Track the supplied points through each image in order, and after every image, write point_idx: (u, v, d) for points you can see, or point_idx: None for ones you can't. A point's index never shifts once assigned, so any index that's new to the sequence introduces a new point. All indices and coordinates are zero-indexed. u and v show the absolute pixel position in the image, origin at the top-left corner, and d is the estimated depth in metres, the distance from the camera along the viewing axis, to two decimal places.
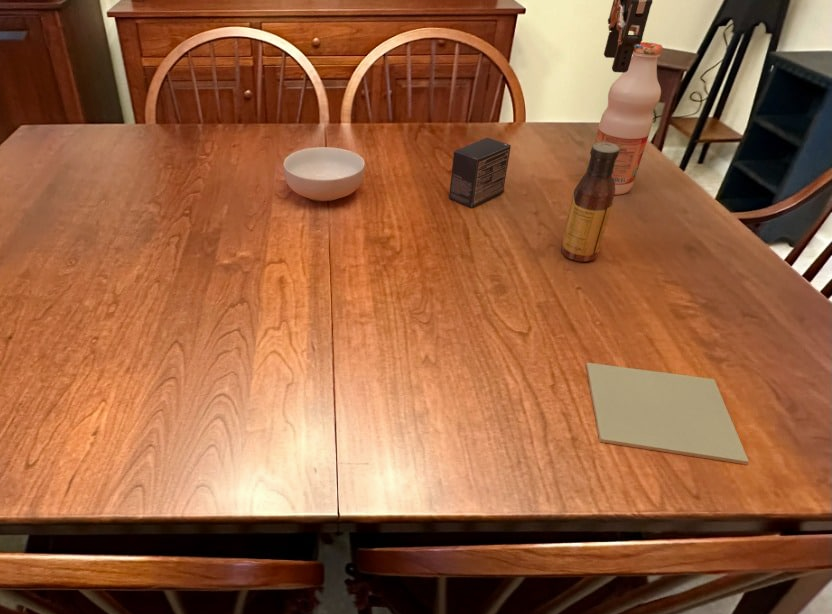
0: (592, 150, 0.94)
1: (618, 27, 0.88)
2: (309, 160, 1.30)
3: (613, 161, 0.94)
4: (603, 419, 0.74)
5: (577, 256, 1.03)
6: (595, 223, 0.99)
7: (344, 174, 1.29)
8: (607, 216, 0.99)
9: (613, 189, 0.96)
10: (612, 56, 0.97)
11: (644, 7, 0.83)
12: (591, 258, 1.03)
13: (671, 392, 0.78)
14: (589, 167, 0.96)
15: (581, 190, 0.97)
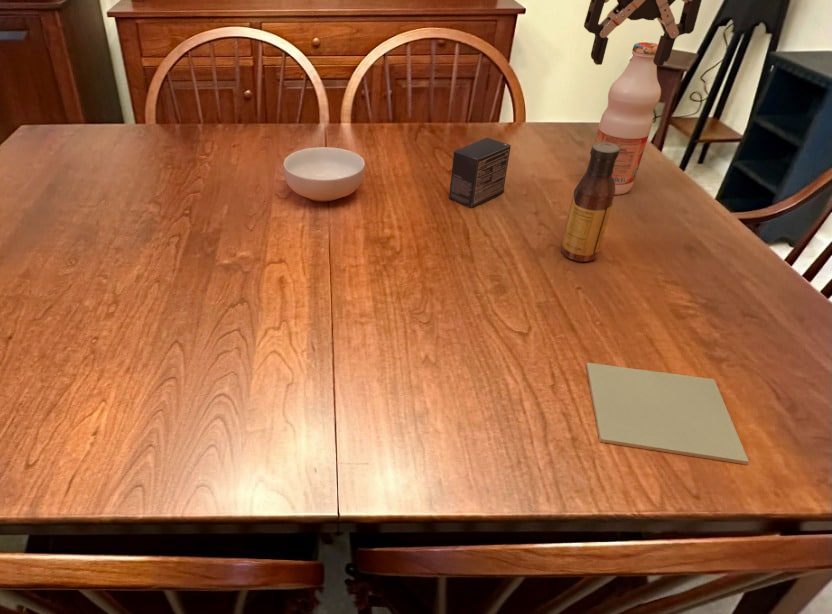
0: (592, 150, 0.94)
1: None
2: (309, 160, 1.30)
3: (613, 161, 0.94)
4: (603, 419, 0.74)
5: (577, 256, 1.03)
6: (595, 223, 0.99)
7: (344, 174, 1.29)
8: (607, 216, 0.99)
9: (613, 189, 0.96)
10: (656, 63, 0.88)
11: None
12: (591, 258, 1.03)
13: (671, 392, 0.78)
14: (589, 167, 0.96)
15: (581, 190, 0.97)
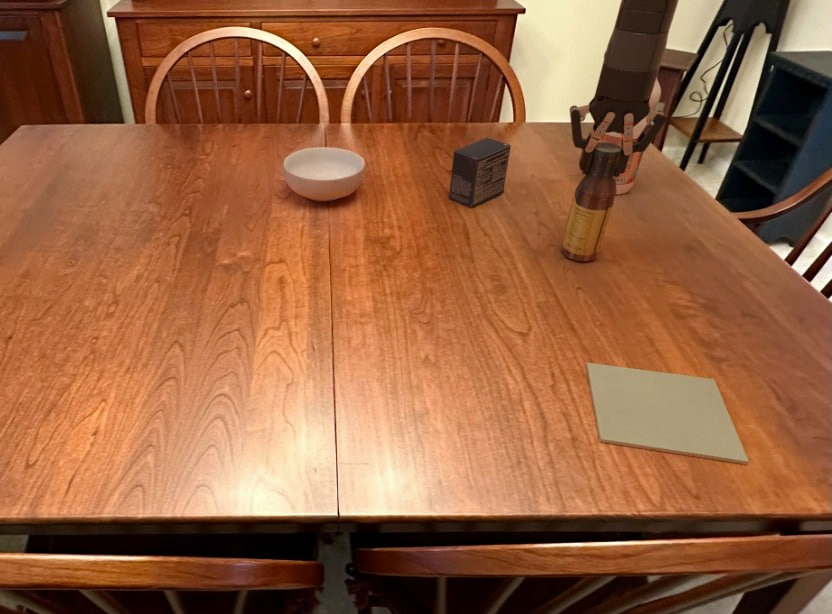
0: (594, 150, 0.94)
1: None
2: (309, 160, 1.30)
3: (615, 161, 0.94)
4: (603, 419, 0.74)
5: (577, 256, 1.03)
6: (596, 223, 0.99)
7: (344, 174, 1.29)
8: (608, 216, 0.99)
9: (614, 189, 0.96)
10: (613, 174, 0.96)
11: None
12: (591, 258, 1.03)
13: (671, 392, 0.78)
14: (591, 167, 0.96)
15: (582, 190, 0.97)
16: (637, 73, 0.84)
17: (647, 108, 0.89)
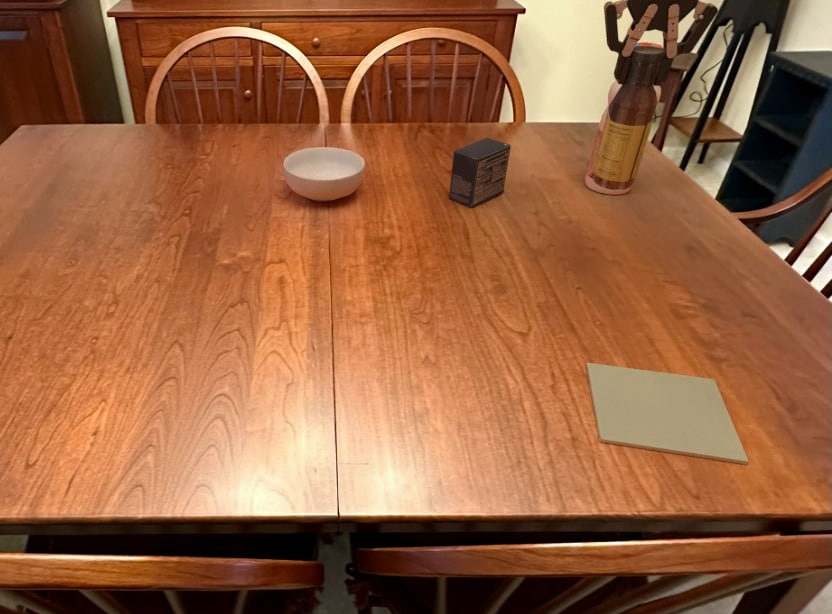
0: (632, 53, 0.82)
1: None
2: (309, 160, 1.30)
3: (656, 65, 0.82)
4: (603, 419, 0.74)
5: (611, 183, 0.92)
6: (633, 142, 0.87)
7: (344, 174, 1.29)
8: (647, 134, 0.87)
9: (655, 100, 0.84)
10: (654, 83, 0.84)
11: (605, 14, 0.81)
12: (627, 185, 0.92)
13: (671, 392, 0.78)
14: (628, 75, 0.84)
15: (617, 103, 0.85)
16: None
17: None
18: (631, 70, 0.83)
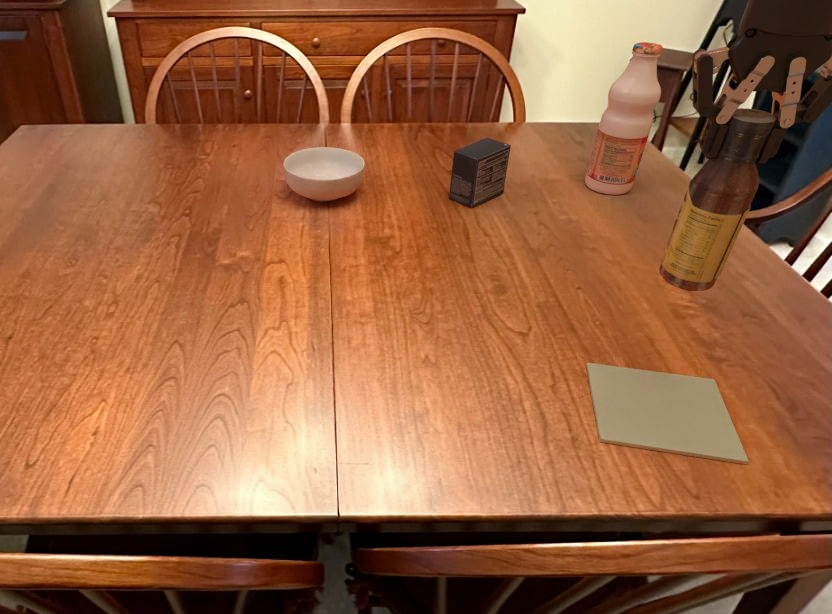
0: (730, 120, 0.60)
1: None
2: (309, 160, 1.30)
3: (764, 137, 0.59)
4: (603, 419, 0.74)
5: (687, 283, 0.69)
6: (724, 235, 0.64)
7: (344, 174, 1.29)
8: (742, 224, 0.64)
9: (757, 182, 0.62)
10: None
11: (696, 67, 0.58)
12: (708, 286, 0.69)
13: (671, 392, 0.78)
14: (721, 147, 0.62)
15: (704, 183, 0.63)
16: None
17: (830, 49, 0.54)
18: (727, 142, 0.61)
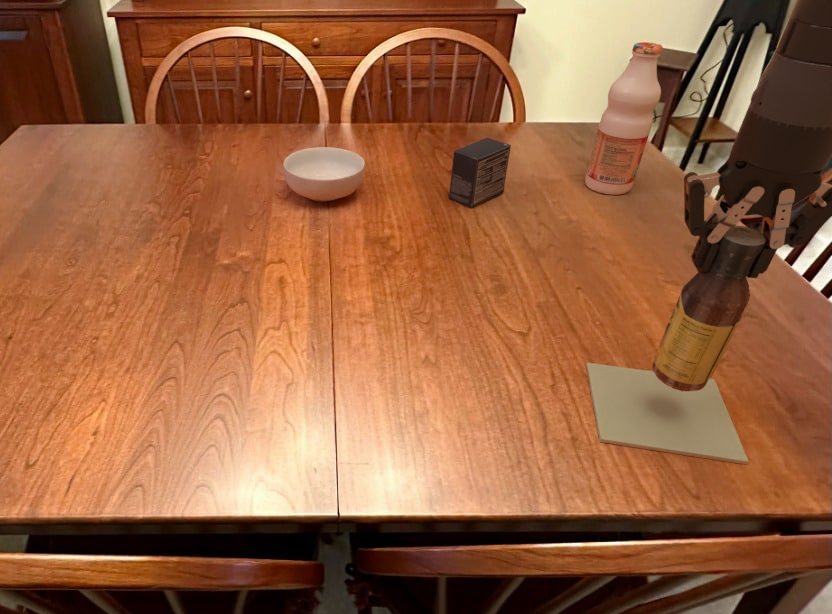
0: (721, 239, 0.61)
1: None
2: (309, 160, 1.30)
3: (754, 257, 0.60)
4: (603, 419, 0.74)
5: (680, 384, 0.70)
6: (715, 344, 0.66)
7: (344, 174, 1.29)
8: (733, 333, 0.66)
9: (748, 296, 0.63)
10: None
11: (688, 191, 0.59)
12: (700, 387, 0.70)
13: (671, 392, 0.78)
14: (712, 263, 0.63)
15: (697, 296, 0.64)
16: (817, 130, 0.51)
17: (818, 181, 0.56)
18: (718, 259, 0.62)
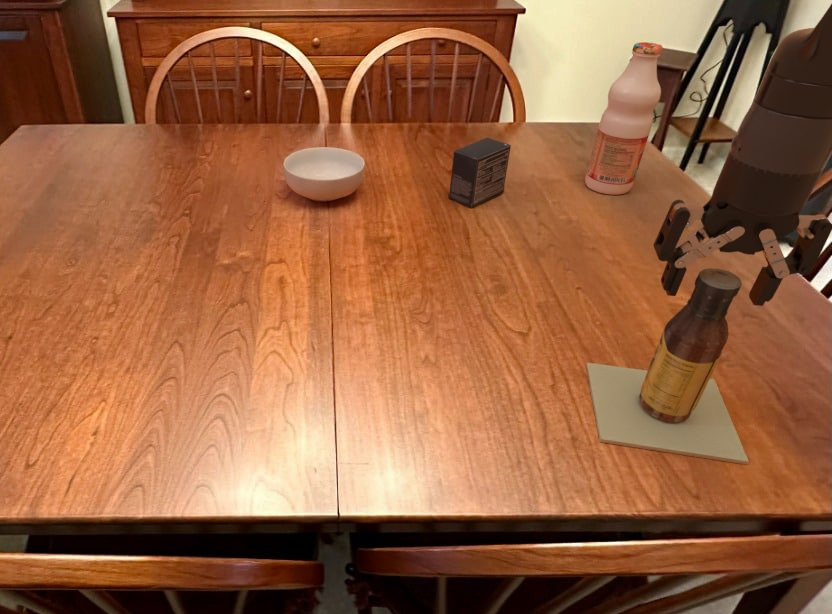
0: (699, 282, 0.64)
1: None
2: (309, 160, 1.30)
3: (731, 299, 0.64)
4: (603, 419, 0.74)
5: (665, 415, 0.73)
6: (697, 379, 0.69)
7: (344, 174, 1.29)
8: (714, 368, 0.69)
9: (727, 335, 0.66)
10: (752, 300, 0.65)
11: (672, 216, 0.61)
12: (684, 418, 0.73)
13: None
14: (692, 303, 0.66)
15: (678, 334, 0.67)
16: (793, 176, 0.53)
17: (794, 219, 0.58)
18: (697, 300, 0.65)
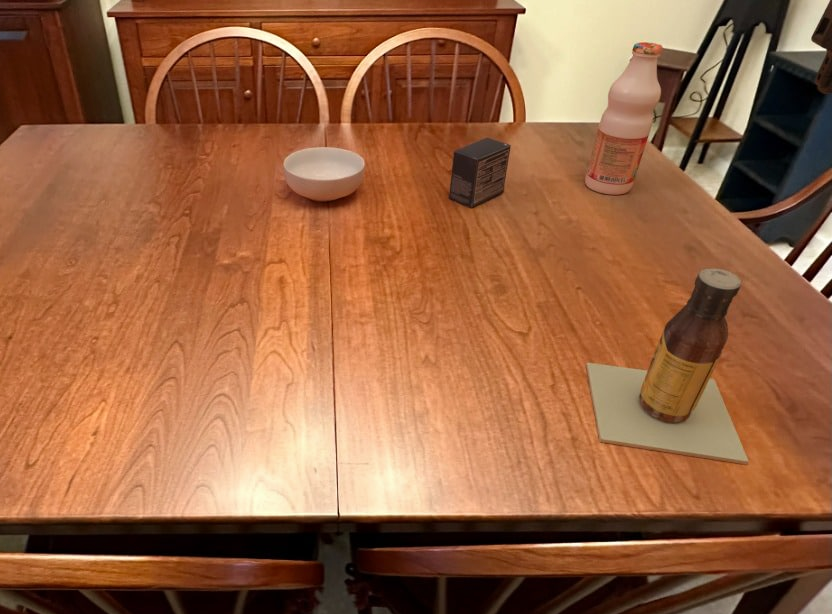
0: (699, 282, 0.64)
1: None
2: (309, 160, 1.30)
3: (731, 299, 0.64)
4: (603, 419, 0.74)
5: (665, 415, 0.73)
6: (697, 379, 0.69)
7: (344, 174, 1.29)
8: (713, 368, 0.69)
9: (726, 335, 0.66)
10: None
11: None
12: (684, 418, 0.73)
13: None
14: (692, 303, 0.66)
15: (678, 334, 0.67)
16: None
17: None
18: (697, 300, 0.65)
